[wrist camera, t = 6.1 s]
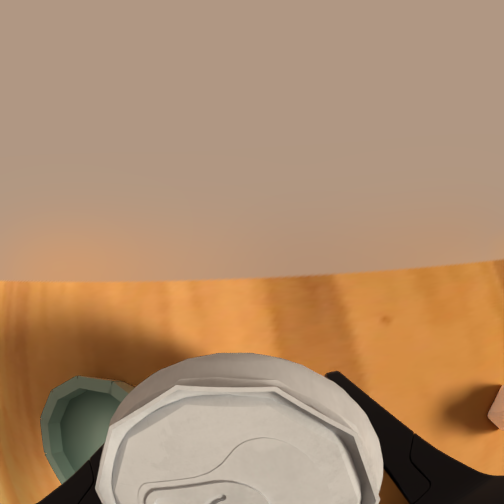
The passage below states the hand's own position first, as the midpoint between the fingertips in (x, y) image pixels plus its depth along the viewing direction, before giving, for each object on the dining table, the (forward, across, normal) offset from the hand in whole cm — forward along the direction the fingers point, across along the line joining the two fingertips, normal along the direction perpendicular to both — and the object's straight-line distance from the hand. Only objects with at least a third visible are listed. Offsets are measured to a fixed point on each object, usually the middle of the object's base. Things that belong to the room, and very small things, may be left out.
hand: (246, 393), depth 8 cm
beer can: (+4, 0, +6) cm, 7 cm away
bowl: (+5, +13, +13) cm, 19 cm away
